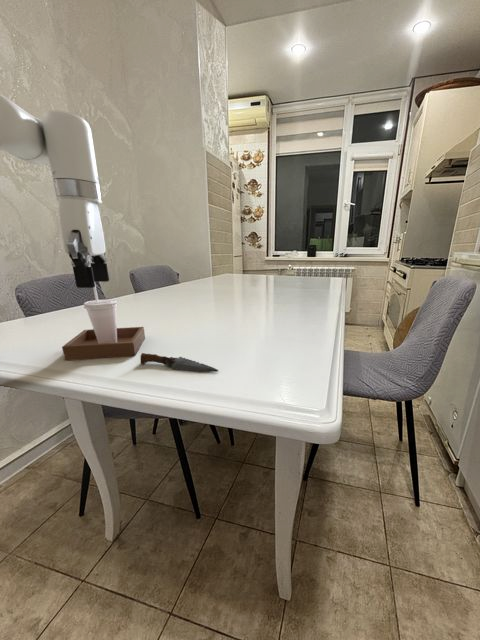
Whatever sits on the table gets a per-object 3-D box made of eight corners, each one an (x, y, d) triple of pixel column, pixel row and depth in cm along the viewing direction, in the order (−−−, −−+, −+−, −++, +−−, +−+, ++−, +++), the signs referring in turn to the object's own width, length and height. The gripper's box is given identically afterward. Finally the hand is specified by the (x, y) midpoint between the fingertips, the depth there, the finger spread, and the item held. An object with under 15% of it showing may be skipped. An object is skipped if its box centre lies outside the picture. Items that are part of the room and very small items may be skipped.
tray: (65, 360, 60) (61, 346, 59) (86, 341, 71) (84, 329, 70) (135, 355, 62) (133, 342, 61) (145, 338, 74) (143, 326, 73)
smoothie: (94, 341, 68) (81, 280, 63) (124, 338, 70) (113, 279, 65) (90, 350, 62) (76, 284, 58) (123, 346, 65) (112, 282, 60)
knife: (134, 355, 57) (153, 342, 60) (138, 364, 58) (155, 350, 62) (202, 381, 50) (219, 364, 54) (204, 390, 52) (220, 372, 55)
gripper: (74, 198, 63) (89, 279, 69) (33, 184, 47) (56, 290, 53) (112, 200, 64) (123, 279, 70) (83, 187, 48) (101, 290, 54)
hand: (94, 284), depth 62 cm, fingers open, 9 cm apart
